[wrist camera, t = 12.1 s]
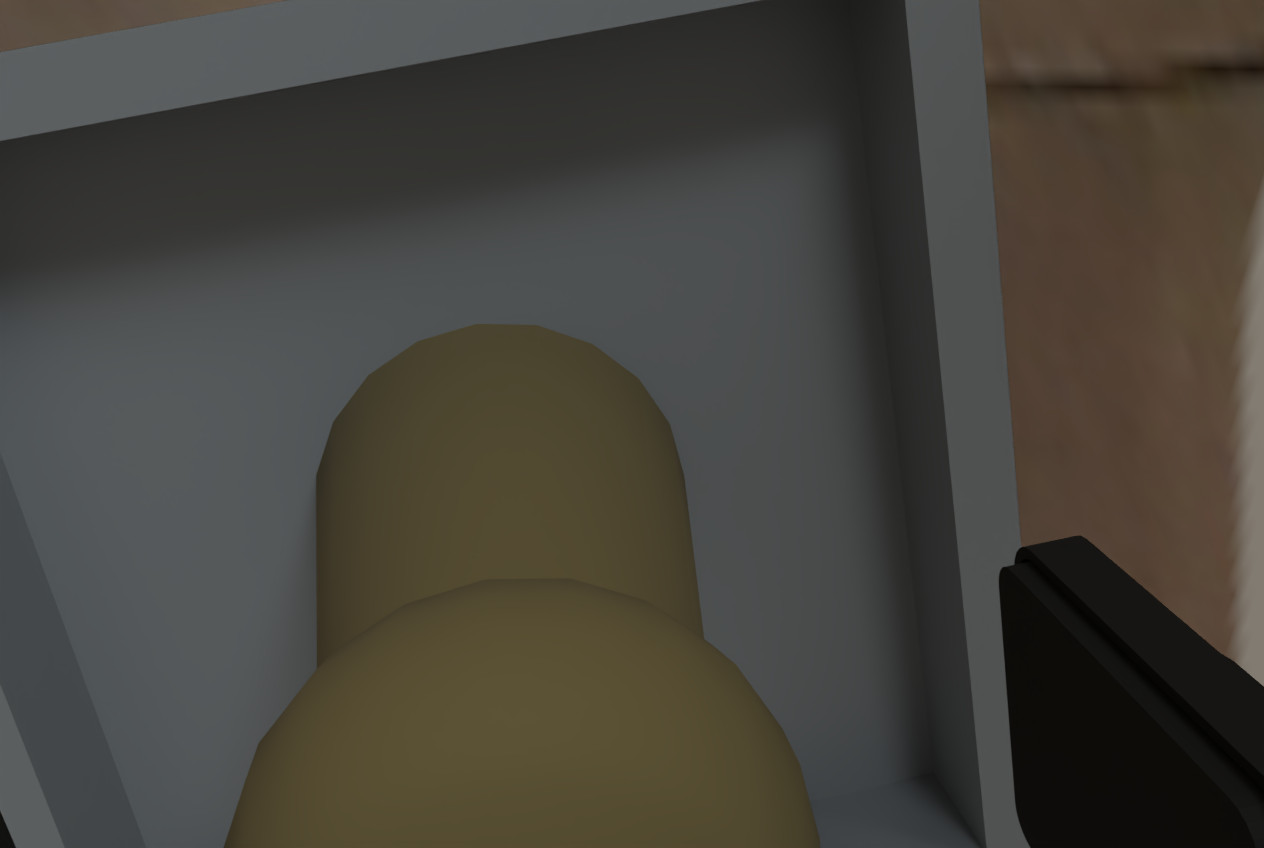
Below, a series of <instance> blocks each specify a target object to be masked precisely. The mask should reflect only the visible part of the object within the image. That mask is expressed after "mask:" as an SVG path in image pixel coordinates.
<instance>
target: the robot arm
mask: <svg viewBox="0 0 1264 848" xmlns="http://www.w3.org/2000/svg"><path fill="white" fill-rule="evenodd" d="M999 595H1000V609H1001V622H1002V635H1003V649H1004V662H1005V675H1006V688H1007V702H1008V715H1009V728H1010V742H1011V755H1012V768H1013V781H1014V795H1015V805H1016V812H1017V816H1018V820H1019V823H1020V826H1021V829H1022V832H1023V834H1024V836H1025V839H1026V841H1027V842H1028V844H1029V846H1030V848H1264V687H1263V686H1262V685H1261V684H1260V683H1259V682H1258V681H1256V680H1255V679H1254V678H1253V677H1252V676H1250V675H1249V674H1248V673H1247V672H1246V671H1245V670H1243V669H1242V668H1241V667H1240V666H1239V665H1238V664H1236V663H1235V662H1234V661H1232V660H1231V659H1229V658H1227V657H1226V656H1224V655H1223V654H1221V653H1219V652H1218V651H1217V650H1216V649H1215V648H1213V647H1212V646H1211V645H1210V644H1209V643H1208V642H1206V641H1205V640H1204V639H1203V638H1202V637H1201V636H1199V635H1198V634H1197V633H1196V632H1195V631H1194V630H1192V629H1191V628H1190V627H1189V626H1188V625H1187V624H1185V623H1184V622H1183V621H1182V620H1181V619H1180V618H1178V617H1177V616H1176V615H1175V614H1174V613H1173V612H1171V611H1170V610H1169V609H1168V608H1167V607H1166V606H1164V605H1163V604H1162V603H1161V602H1160V601H1158V600H1157V599H1156V598H1155V597H1154V596H1153V595H1151V594H1150V593H1149V592H1148V591H1147V590H1146V589H1144V588H1143V587H1142V586H1141V585H1140V584H1139V583H1137V582H1136V581H1135V580H1134V579H1133V578H1132V577H1130V576H1129V575H1128V574H1127V573H1126V572H1125V571H1123V570H1122V569H1121V568H1120V567H1119V566H1118V565H1116V564H1115V563H1114V562H1113V561H1112V560H1111V559H1109V558H1108V557H1107V556H1106V555H1105V554H1104V553H1102V552H1101V551H1100V550H1099V549H1098V548H1097V547H1095V546H1094V545H1093V544H1092V543H1091V542H1089V541H1088V540H1087V539H1085V538H1084V537H1082V536H1073V537H1069V538H1064V539H1059V540H1054V541H1050V542H1045V543H1040V544H1035V545H1031V546H1026V547H1021V548H1019V550H1018V551H1017V552H1016V556H1015V560H1014V565H1011V566H1006V567H1002V569H1001V570H1000V573H999ZM0 848H16V846H15V844H14V842H13V839H12V837H11V835H10V832H9V830H8V828H7V825H6V823H5V821H4V818H3V816H2V814H1V811H0Z"/></svg>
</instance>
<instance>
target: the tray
mask: <svg viewBox="0 0 1264 848" xmlns="http://www.w3.org/2000/svg"><path fill="white" fill-rule="evenodd" d="M474 324H510V325H538V326H541V327H544V328H547V329H550V330H553V331H556V332H559V333H562V334H565V335H568V336H571V337H573V338H576V339H579V340H582V341H585V342H588V343H591V344H593V345H595V346H596V347H597V348H599V349H600V350H601V351H603V352H604V353H605V354H607V355H608V356H609V357H611V358H612V359H613V360H615V361H616V362H617V363H619V364H620V365H621V366H623V367H624V368H625V369H627V370H628V371H629V372H631V373H632V374H633V375H635V376H636V377H637V378H639V380H640V381H641V383H642V384H643V386H644V387H645V388H646V390H647V391H648V393H649V394H650V396H651V397H652V399H653V400H654V402H655V403H656V404H657V406H658V407H659V409H660V410H661V412H662V413H663V415H664V416H665V417H666V419H667V420H668V422H669V423H670V426H671V430H672V433H673V437H674V440H675V444H676V448H677V451H678V455H679V459H680V462H681V466H682V469H683V473H684V478H685V486H686V494H687V502H688V510H689V518H690V527H691V535H692V543H693V551H694V559H695V567H696V575H697V584H698V592H699V600H700V608H701V616H702V624H703V632H704V640H706V641H707V642H709V643H710V644H712V645H713V646H714V647H715V648H717V649H718V650H719V651H720V652H721V653H723V654H724V655H725V656H726V657H728V658H729V659H730V660H731V661H732V662H734V663H735V664H736V665H737V667H738V668H739V669H740V671H741V672H742V673H743V675H744V676H745V678H746V679H747V680H748V682H749V683H750V684H751V686H752V687H753V689H754V690H755V691H756V693H757V694H758V695H759V697H760V698H761V700H762V701H763V702H764V704H765V705H766V706H767V708H768V709H769V711H770V712H771V713H772V715H773V716H774V718H775V719H776V720H777V722H778V723H779V724H780V726H781V727H782V729H783V731H784V733H785V735H786V737H787V739H788V741H789V743H790V745H791V747H792V749H793V751H794V753H795V755H796V757H797V759H798V761H799V763H800V766H801V770H802V774H803V778H804V781H805V785H806V789H807V793H808V796H809V800H810V804H811V808H812V811H813V815H814V819H815V823H816V827H817V830H818V834H819V838H820V848H1030V846H1029V844H1028V842H1027V841H1026V839H1025V836H1024V834H1023V832H1022V829H1021V826H1020V823H1019V820H1018V816H1017V812H1016V805H1015V795H1014V781H1013V768H1012V755H1011V742H1010V728H1009V715H1008V702H1007V688H1006V675H1005V662H1004V649H1003V635H1002V622H1001V609H1000V595H999V573H1000V570H1001V569H1002V567H1006V566H1011V565H1014V560H1015V556H1016V552H1017V551H1018V550H1019V548H1021V536H1020V523H1019V510H1018V497H1017V484H1016V472H1015V459H1014V446H1013V433H1012V420H1011V407H1010V394H1009V381H1008V368H1007V356H1006V343H1005V330H1004V317H1003V304H1002V291H1001V278H1000V265H999V252H998V240H997V227H996V214H995V201H994V188H993V175H992V162H991V149H990V136H989V124H988V111H987V98H986V85H985V72H984V59H983V46H982V33H981V20H980V8H979V0H287V1H282V2H276V3H271V4H265V5H259V6H254V7H248V8H243V9H237V10H232V11H226V12H220V13H215V14H209V15H204V16H198V17H193V18H187V19H181V20H176V21H170V22H165V23H159V24H154V25H148V26H143V27H137V28H131V29H126V30H120V31H115V32H109V33H104V34H98V35H92V36H87V37H81V38H76V39H70V40H65V41H59V42H54V43H48V44H42V45H37V46H31V47H26V48H20V49H15V50H9V51H3V52H0V811H1V814H2V816H3V818H4V821H5V823H6V825H7V828H8V830H9V832H10V835H11V837H12V839H13V842H14V844H15V846H16V848H224V845H225V841H226V838H227V835H228V832H229V829H230V826H231V823H232V820H233V817H234V814H235V811H236V808H237V805H238V802H239V798H240V795H241V792H242V789H243V786H244V783H245V780H246V777H247V775H248V772H249V769H250V766H251V763H252V760H253V758H254V755H255V752H256V749H257V746H258V743H259V742H260V741H261V739H262V738H263V737H264V736H265V734H266V733H267V732H268V730H269V729H270V728H271V727H272V725H273V724H274V723H275V722H276V720H277V719H278V718H279V716H280V715H281V714H282V713H283V711H284V710H285V709H286V707H287V706H288V705H289V704H290V702H291V701H292V700H293V699H294V697H295V696H296V695H297V693H298V692H299V691H300V690H301V688H302V687H303V686H304V684H305V683H306V682H307V681H308V679H309V678H310V677H311V676H312V674H313V673H314V672H315V671H316V670H317V597H316V474H317V471H318V468H319V465H320V462H321V459H322V456H323V452H324V449H325V446H326V443H327V440H328V437H329V434H330V430H331V427H332V424H333V421H334V420H335V419H336V417H337V416H338V415H339V413H340V412H341V411H342V409H343V408H344V407H345V405H346V404H347V403H348V401H349V400H350V399H351V397H352V396H353V395H354V393H355V392H356V391H357V389H358V388H359V387H360V386H361V384H362V383H363V382H364V380H365V379H366V378H367V376H368V375H369V374H371V373H372V372H374V371H375V370H376V369H378V368H379V367H381V366H382V365H384V364H385V363H387V362H388V361H390V360H391V359H393V358H394V357H395V356H397V355H398V354H400V353H401V352H403V351H404V350H406V349H407V348H409V347H410V346H411V345H413V344H414V343H416V342H417V341H420V340H423V339H427V338H430V337H434V336H437V335H440V334H444V333H447V332H450V331H454V330H457V329H460V328H464V327H467V326H471V325H474Z"/></svg>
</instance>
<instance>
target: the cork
mask: <svg viewBox="0 0 1264 848" xmlns="http://www.w3.org/2000/svg"><path fill="white" fill-rule="evenodd" d="M316 597H317V670H316V671H315V672H314V673H313V674H312V676H311V677H310V678H309V679H308V681H307V682H306V683H305V684H304V686H303V687H302V688H301V690H300V691H299V692H298V693H297V695H296V696H295V697H294V699H293V700H292V701H291V702H290V704H289V705H288V706H287V707H286V709H285V710H284V711H283V713H282V714H281V715H280V716H279V718H278V719H277V720H276V722H275V723H274V724H273V725H272V727H271V728H270V729H269V730H268V732H267V733H266V734H265V736H264V737H263V738H262V739H261V741H260V742H259V743H258V746H257V749H256V752H255V755H254V758H253V760H252V763H251V766H250V769H249V772H248V775H247V777H246V780H245V783H244V786H243V789H242V792H241V795H240V798H239V802H238V805H237V808H236V811H235V814H234V817H233V820H232V823H231V826H230V829H229V832H228V835H227V838H226V841H225V845H224V848H820V838H819V834H818V830H817V827H816V823H815V819H814V815H813V811H812V808H811V804H810V800H809V796H808V793H807V789H806V785H805V781H804V778H803V774H802V770H801V766H800V763H799V761H798V759H797V757H796V755H795V753H794V751H793V749H792V747H791V745H790V743H789V741H788V739H787V737H786V735H785V733H784V731H783V729H782V727H781V726H780V724H779V723H778V722H777V720H776V719H775V718H774V716H773V715H772V713H771V712H770V711H769V709H768V708H767V706H766V705H765V704H764V702H763V701H762V700H761V698H760V697H759V695H758V694H757V693H756V691H755V690H754V689H753V687H752V686H751V684H750V683H749V682H748V680H747V679H746V678H745V676H744V675H743V673H742V672H741V671H740V669H739V668H738V667H737V665H736V664H735V663H734V662H732V661H731V660H730V659H729V658H728V657H726V656H725V655H724V654H723V653H721V652H720V651H719V650H718V649H717V648H715V647H714V646H713V645H712V644H710V643H709V642H707V641H706V640H704V632H703V624H702V616H701V608H700V600H699V592H698V584H697V575H696V567H695V559H694V551H693V543H692V535H691V527H690V518H689V510H688V502H687V494H686V486H685V478H684V473H683V469H682V466H681V462H680V459H679V455H678V451H677V448H676V444H675V440H674V437H673V433H672V430H671V426H670V423H669V422H668V420H667V419H666V417H665V416H664V415H663V413H662V412H661V410H660V409H659V407H658V406H657V404H656V403H655V402H654V400H653V399H652V397H651V396H650V394H649V393H648V391H647V390H646V388H645V387H644V386H643V384H642V383H641V381H640V380H639V378H637V377H636V376H635V375H633V374H632V373H631V372H629V371H628V370H627V369H625V368H624V367H623V366H621V365H620V364H619V363H617V362H616V361H615V360H613V359H612V358H611V357H609V356H608V355H607V354H605V353H604V352H603V351H601V350H600V349H599V348H597V347H596V346H595V345H593V344H591V343H588V342H585V341H582V340H579V339H576V338H573V337H571V336H568V335H565V334H562V333H559V332H556V331H553V330H550V329H547V328H544V327H541V326H538V325H510V324H474V325H471V326H467V327H464V328H460V329H457V330H454V331H450V332H447V333H444V334H440V335H437V336H434V337H430V338H427V339H423V340H420V341H417V342H416V343H414V344H413V345H411V346H410V347H409V348H407V349H406V350H404V351H403V352H401V353H400V354H398V355H397V356H395V357H394V358H393V359H391V360H390V361H388V362H387V363H385V364H384V365H382V366H381V367H379V368H378V369H376V370H375V371H374V372H372V373H371V374H369V375H368V376H367V378H366V379H365V380H364V382H363V383H362V384H361V386H360V387H359V388H358V389H357V391H356V392H355V393H354V395H353V396H352V397H351V399H350V400H349V401H348V403H347V404H346V405H345V407H344V408H343V409H342V411H341V412H340V413H339V415H338V416H337V417H336V419H335V420H334V421H333V424H332V427H331V430H330V434H329V437H328V440H327V443H326V446H325V449H324V452H323V456H322V459H321V462H320V465H319V468H318V471H317V474H316Z"/></svg>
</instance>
